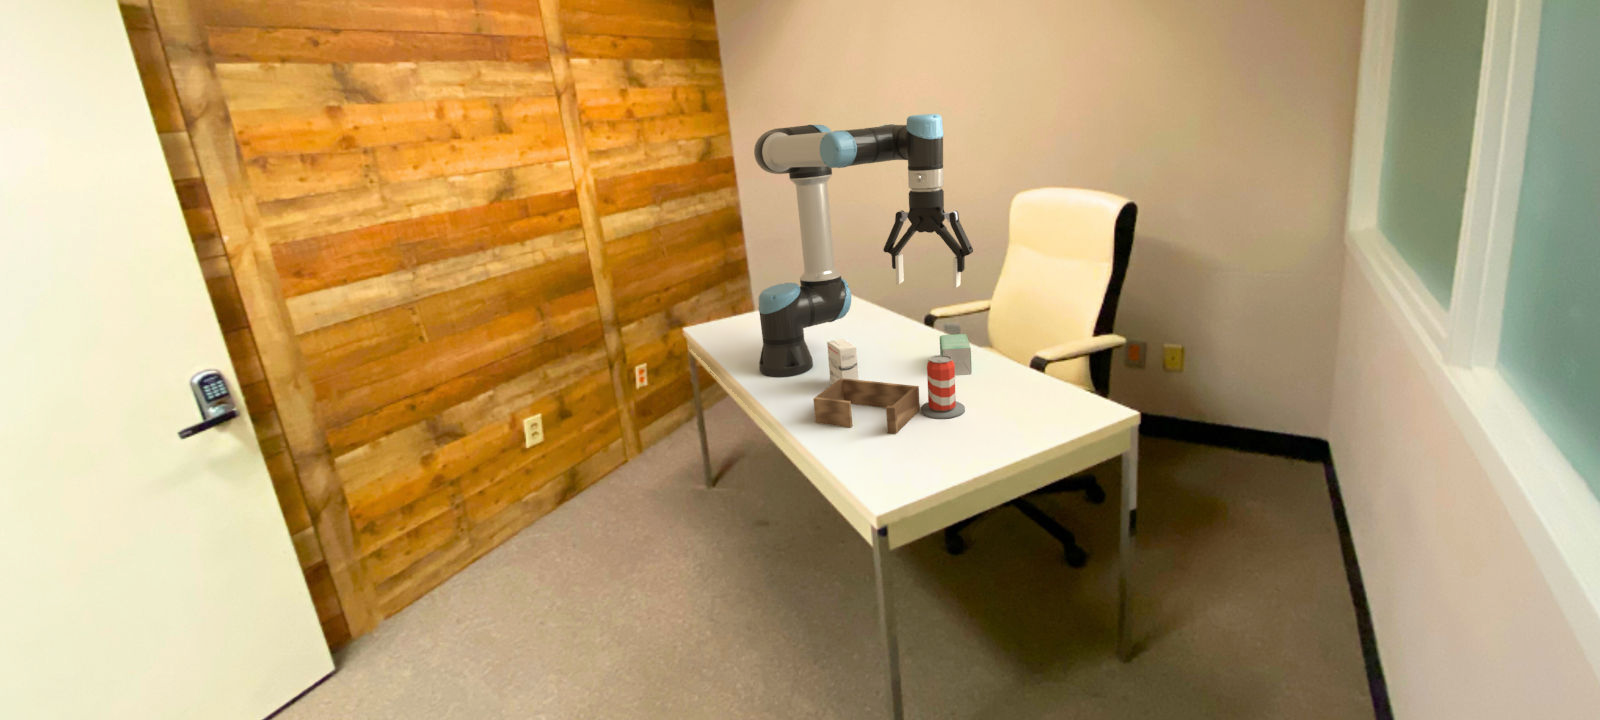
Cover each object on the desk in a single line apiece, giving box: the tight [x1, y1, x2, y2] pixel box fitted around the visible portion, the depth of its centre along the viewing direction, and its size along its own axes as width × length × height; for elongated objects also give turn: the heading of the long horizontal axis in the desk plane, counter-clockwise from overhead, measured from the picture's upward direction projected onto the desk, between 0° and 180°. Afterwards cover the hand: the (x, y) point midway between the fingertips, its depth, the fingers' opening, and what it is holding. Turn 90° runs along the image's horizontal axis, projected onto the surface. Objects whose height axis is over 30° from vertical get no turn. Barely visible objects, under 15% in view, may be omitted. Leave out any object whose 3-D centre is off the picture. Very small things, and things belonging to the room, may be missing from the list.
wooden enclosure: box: [813, 378, 921, 435], centre depth 171 cm, size 20×14×6 cm
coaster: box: [920, 401, 966, 420], centre depth 171 cm, size 10×10×1 cm
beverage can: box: [926, 354, 957, 412], centre depth 169 cm, size 6×6×12 cm
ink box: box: [826, 338, 860, 386], centre depth 190 cm, size 8×5×12 cm, turn 20°
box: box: [939, 333, 972, 376], centre depth 198 cm, size 7×14×8 cm, turn 173°
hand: (927, 284), depth 168 cm, fingers open, 13 cm apart
